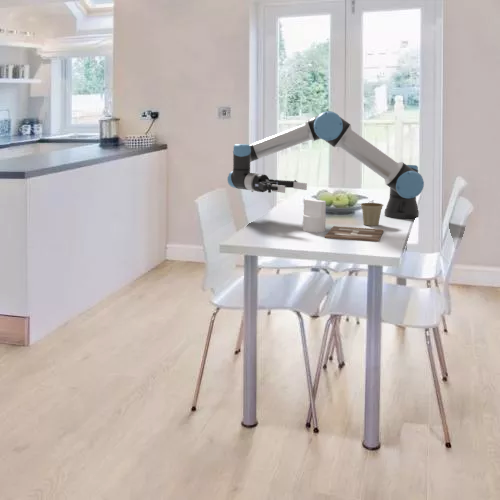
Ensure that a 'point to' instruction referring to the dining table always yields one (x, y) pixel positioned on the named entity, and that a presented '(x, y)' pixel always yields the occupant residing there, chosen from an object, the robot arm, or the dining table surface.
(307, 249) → the dining table surface
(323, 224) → the base with upright slab
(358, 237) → the letter board
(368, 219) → the flower pot
